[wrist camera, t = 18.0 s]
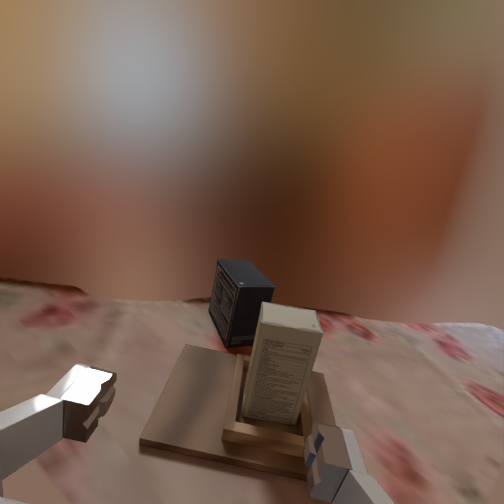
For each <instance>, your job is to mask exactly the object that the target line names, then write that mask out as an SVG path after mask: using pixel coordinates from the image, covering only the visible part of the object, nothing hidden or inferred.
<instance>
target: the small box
mask: <svg viewBox="0 0 504 504" xmlns="http://www.w3.org/2000/svg"><path fill="white" fill-rule="evenodd" d="M274 288H275V286H274V285H273V284H272V283H271V282H270V281H269V280H268V279H267V278H266V277H265V276H264V275H263V274H262V273H260V271H259V270H258V269H257V268H255V266H254V265H253V264H251V262H250V261H246V260H229V259H218V261H217V268H216V275H215V280H214V286H213V291H212V296H211V301H210V306H209V313H210V315H211V317H212V319H213V322H214V324H215V326H216V328H217V330H218V332H219V334H220V336H221V339H222V341H223V343H224V345H225V347H232V346H241V345H252V344H254V339H255V334H256V329H257V325H258V320H259V315H260V310H261V305H262V302H268V303H271V299H272V295H273V291H274Z"/></svg>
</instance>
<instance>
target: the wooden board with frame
mask: <svg viewBox="0 0 504 504" xmlns="http://www.w3.org/2000/svg"><path fill="white" fill-rule="evenodd" d="M250 358H251V356H247V355H242V354H237V355H234V354H230V353H225V352H220V351H216V350H211V349H206V348H202V347H197V346H192V345H188V344H186V345H185V347H184V349H183V351H182V353H181V355H180V357H179V359H178V361H177V363H176V365H175V367H174V369H173V371H172V373H171V375H170V377H169V379H168V381H167V383H166V385H165V387H164V390H163V392H162V394H161V396H160V398H159V400H158V402H157V404H156V406H155V408H154V410H153V412H152V414H151V416H150V418H149V420H148V422H147V424H146V426H145V428H144V430H143V432H142V434H141V437H140V441H139V444H141V445H145V446H150V447H154V448H159V449H164V450H168V451H173V452H177V453H182V454H187V455H191V456H196V457H200V458H205V459H209V460H214V461H219V462H223V463H228V464H232V465H237V466H241V467H246V468H251V469H255V470H260V471H264V472H269V473H273V474H278V475H283V476H287V477H292V478H296V479H301V480H305V481H307V475H308V473H309V469H308V467H307V466H306V464H305V457H304V450H305V443H306V440H307V438H308V436H309V435H311V434H312V429H311V428H312V426H313V423H315V422H319V423H324V424H328V425H332V426H336V424H335V420H334V416H333V412H332V408H331V404H330V400H329V395H328V391H327V387H326V383H325V379H324V375H323V373H318V372H313V371H312V372H311V376H310V379H309V382H308V386H307V389H306V392H305V395H304V399H303V402H302V406H301V409H300V412H299V416H298V419H297V423H296V425H290V424H283V423H277V422H271V421H265V420H259V419H253V418H248V417H244V416H242V403H243V394H244V387H245V382H246V377H247V372H248V368H249V363H250Z"/></svg>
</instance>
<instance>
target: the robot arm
mask: <svg viewBox="0 0 504 504" xmlns="http://www.w3.org/2000/svg"><path fill="white" fill-rule="evenodd" d="M116 376H117V374H116V373H115V372H111V371H107V370H104V369H100V368H96V367H93V366H88V365H85V364H81V363H78V364H76V365H74V366H73V367H72V368H71V369H70V370H69V371H68V372H67V373H66V374H65V375H64V376H63V377H62V378H61V379H60V381H59V382H58V383H57V384H56V385H55V386H54V387H53V388H52V389H51V390H50V391H49V392H48V393H47V394H46V395H38V396H36V397H34V398H32V399H29V400H27V401H25V402H22V403H20V404H18V405H15V406H13V407H11V408H9V409H6V410H4V411H2V412H0V504H28V503H24V502H20V501H16V500H12V499H7V498H3V487H2V480H3V479H5V478H6V477H8V476H9V475H11V474H12V473H14V472H15V471H17V470H18V469H19V468H21V467H22V466H24V465H25V464H27V463H28V462H30V461H31V460H33V459H34V458H36V457H37V456H39V455H40V454H42V453H43V452H45V451H46V450H47V449H49V448H50V447H52V446H53V445H55V444H56V443H58V442H59V441H61V440H62V438H66V439H71V440H75V441H80V442H85V443H86V442H87V441H88V439H89V438H90V436H91V435H92V433H93V432H94V430H95V429H96V427H97V426H98V419H99V418H100V417H102V416H104V415H105V414H106V412H107V411H108V409H109V408H110V405H111V403H112V401H113V398H114V395H115V388H114V386H113V384H114V383H115V381H116ZM311 429H312V434H311V435H309V436H308V438H307V440H306V443H305V450H304V457H305V464H306V466H307V467H308V469H309V473H308V475H307V483H308V492H309V497H311V498H315V499H318V500H322V501H325V502H329V503H332V504H394V503H393V501H392V500H391V499H390V498H389V497H388V495H387V494H386V493H385V492H384V490H383V489H382V488H381V487H380V485H379V484H378V483H377V482H376V480H375V479H374V478H373V477H372V475H369V474H367V471H366V468H365V465H364V462H363V459H362V456H361V452H360V449H359V446H358V443H357V440H356V437H355V434H354V432H353V431H352V430H349V429H345V428H339V427H337V426H332V425H328V424H324V423H319V422H315V423H313V426H312V428H311Z"/></svg>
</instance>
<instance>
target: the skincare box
mask: <svg viewBox="0 0 504 504" xmlns="http://www.w3.org/2000/svg"><path fill="white" fill-rule="evenodd" d="M322 335H323V331H322V328H321V325H320V322H319V319H318V316H317V314H316V312H315V311H313V310H308V309H302V308H297V307H291V306H286V305H280V304H273V303H268V302H262V305H261V310H260V315H259V320H258V325H257V329H256V334H255V339H254V344H253V348H252V353H251V358H250V363H249V368H248V372H247V377H246V382H245V387H244V394H243V403H242V416H244V417H248V418H253V419H259V420H265V421H271V422H277V423H283V424H290V425H296V423H297V419H298V416H299V412H300V409H301V406H302V402H303V399H304V395H305V392H306V389H307V386H308V382H309V379H310V376H311V372H312V369H313V365H314V362H315V358H316V355H317V352H318V348H319V345H320V342H321V338H322Z"/></svg>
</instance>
